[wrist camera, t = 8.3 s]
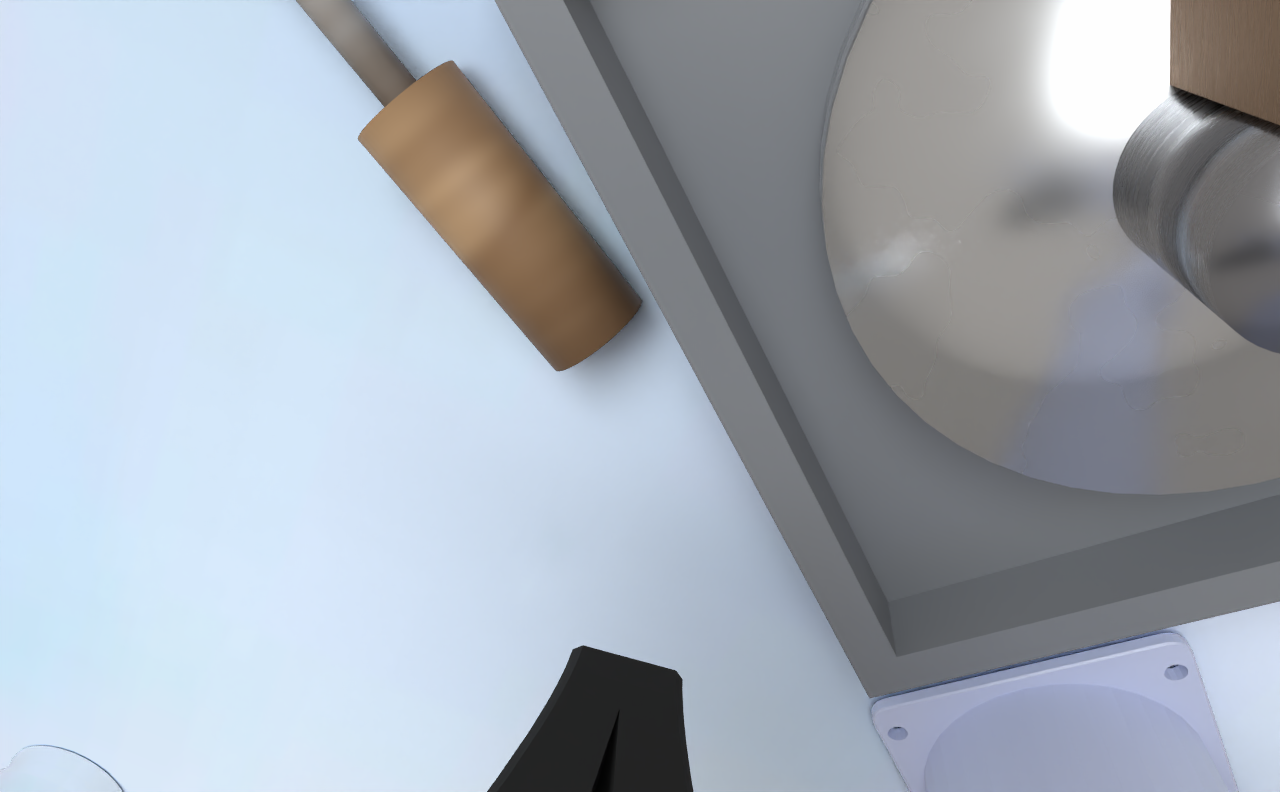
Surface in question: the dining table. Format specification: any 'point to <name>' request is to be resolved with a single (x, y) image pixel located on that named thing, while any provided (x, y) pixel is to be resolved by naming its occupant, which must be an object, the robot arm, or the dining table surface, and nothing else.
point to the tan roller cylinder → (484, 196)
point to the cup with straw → (54, 772)
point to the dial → (1067, 231)
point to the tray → (851, 362)
